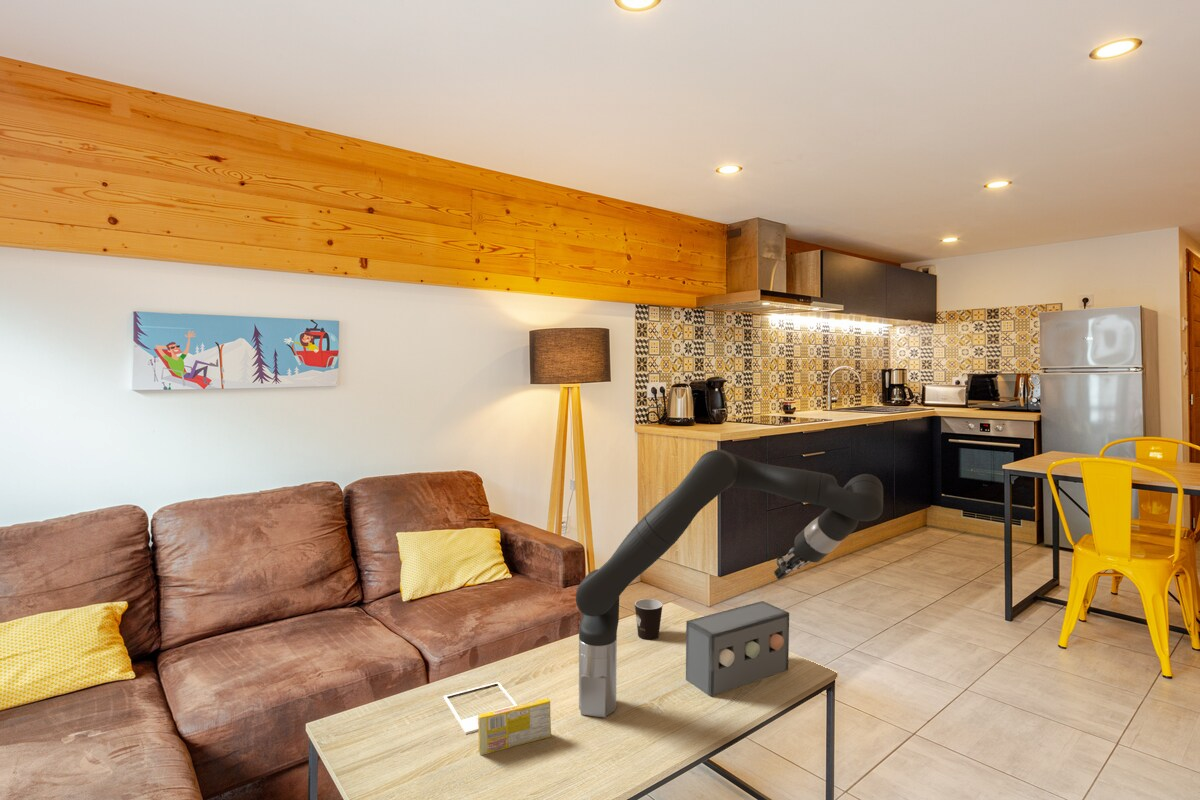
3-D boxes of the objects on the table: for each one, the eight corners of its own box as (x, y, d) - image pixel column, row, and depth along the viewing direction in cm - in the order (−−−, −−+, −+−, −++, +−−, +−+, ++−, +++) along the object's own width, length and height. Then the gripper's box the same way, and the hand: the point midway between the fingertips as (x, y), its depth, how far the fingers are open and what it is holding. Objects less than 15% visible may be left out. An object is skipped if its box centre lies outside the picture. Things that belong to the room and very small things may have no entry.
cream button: (734, 664, 160) (734, 649, 160) (722, 668, 158) (722, 652, 158) (715, 653, 166) (716, 639, 166) (704, 657, 164) (704, 642, 164)
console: (788, 669, 172) (789, 612, 172) (710, 696, 158) (711, 634, 157) (761, 655, 181) (762, 601, 180) (685, 679, 167) (686, 621, 166)
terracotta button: (783, 648, 170) (783, 634, 170) (773, 651, 168) (773, 637, 168) (764, 638, 176) (764, 625, 176) (754, 642, 174) (754, 628, 174)
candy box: (548, 732, 143) (548, 697, 142) (551, 737, 141) (551, 701, 140) (477, 750, 136) (477, 713, 135) (480, 756, 134) (480, 718, 133)
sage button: (759, 656, 165) (759, 641, 165) (748, 659, 163) (748, 644, 163) (740, 646, 171) (741, 631, 171) (729, 649, 169) (730, 635, 169)
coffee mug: (663, 641, 190) (663, 609, 189) (635, 641, 190) (635, 609, 189) (660, 625, 201) (660, 595, 201) (633, 625, 202) (633, 595, 201)
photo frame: (465, 731, 141) (443, 695, 157) (465, 736, 142) (443, 699, 157) (525, 713, 149) (498, 681, 164) (525, 718, 149) (498, 685, 164)
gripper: (829, 520, 149) (788, 558, 160) (790, 528, 142) (750, 566, 153) (847, 548, 145) (804, 584, 156) (808, 557, 138) (766, 594, 149)
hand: (777, 575), depth 154 cm, fingers closed
